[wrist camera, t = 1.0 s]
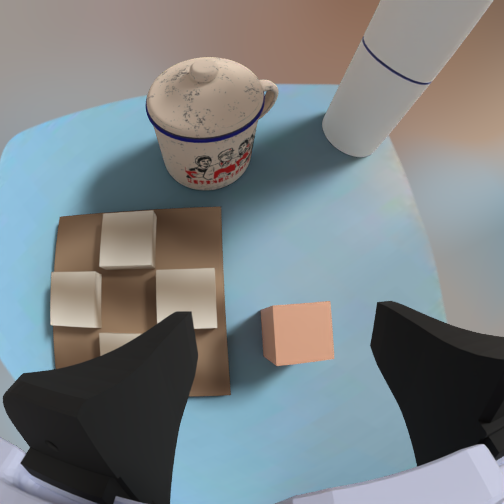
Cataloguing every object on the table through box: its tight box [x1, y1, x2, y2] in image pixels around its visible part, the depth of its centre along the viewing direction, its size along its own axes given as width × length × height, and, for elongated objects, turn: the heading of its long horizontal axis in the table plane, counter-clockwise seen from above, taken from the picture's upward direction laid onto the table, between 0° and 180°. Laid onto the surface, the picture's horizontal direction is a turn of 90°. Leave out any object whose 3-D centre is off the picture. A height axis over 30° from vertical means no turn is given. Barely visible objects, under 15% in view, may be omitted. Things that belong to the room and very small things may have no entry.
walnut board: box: [50, 207, 231, 396], centre depth 22 cm, size 16×16×2 cm
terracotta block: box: [261, 301, 334, 366], centre depth 21 cm, size 4×4×6 cm
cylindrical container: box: [322, 0, 493, 157], centre depth 18 cm, size 7×7×25 cm
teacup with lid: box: [146, 57, 278, 190], centre depth 22 cm, size 12×9×12 cm
